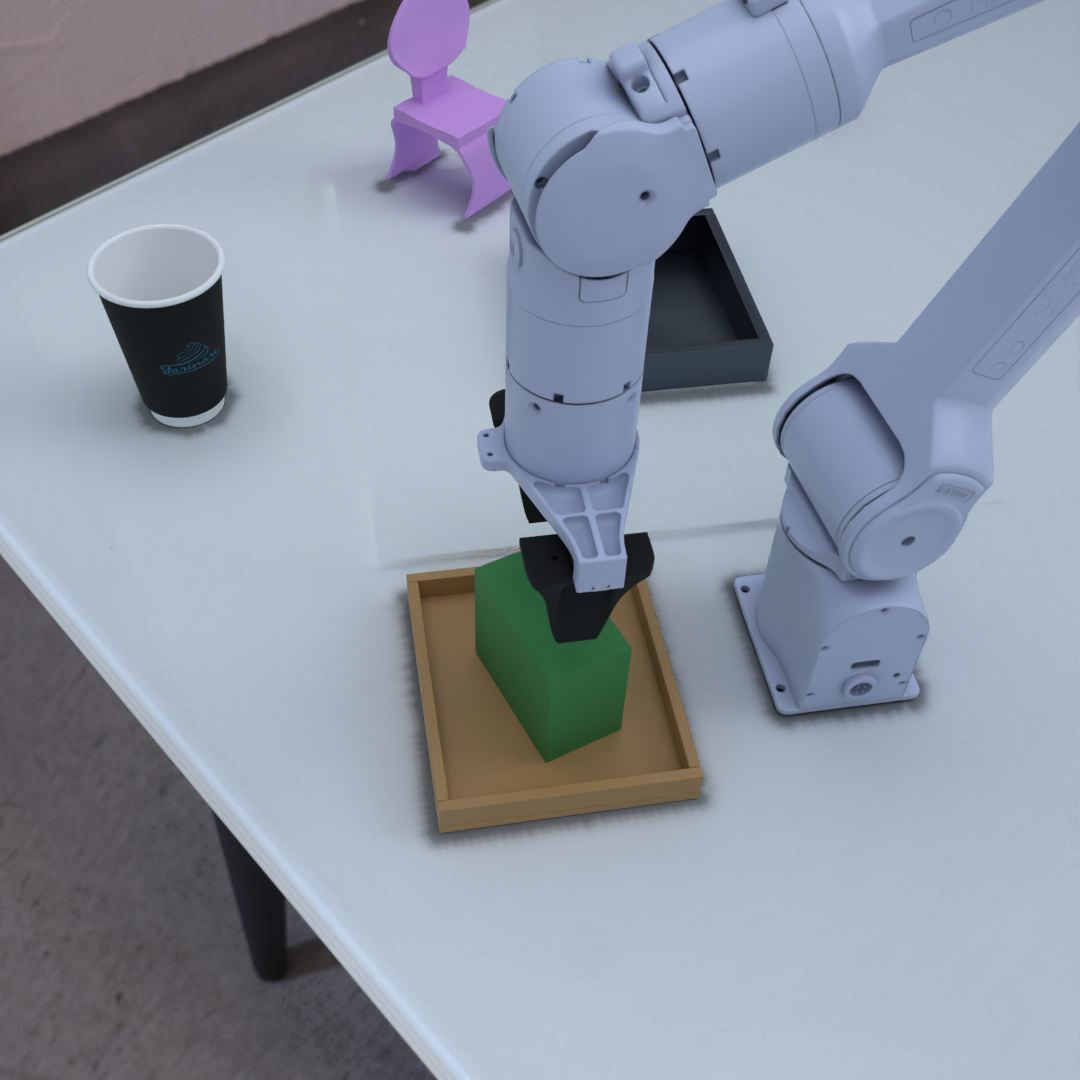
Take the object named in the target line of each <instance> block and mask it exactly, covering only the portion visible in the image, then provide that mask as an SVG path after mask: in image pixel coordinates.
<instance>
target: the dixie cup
mask: <svg viewBox="0 0 1080 1080" xmlns="http://www.w3.org/2000/svg"><path fill="white" fill-rule="evenodd" d="M225 266H226V255H225V252H224V249H223V248H222V246H221V244H220V242H219V241H218V240H217V239H216V238H214V237H213V236H212V235H211V234H209V233H207V232H205V231H203V230H201V229H198V228H195V227H193V226H189V225H184V224H179V223H178V224H176V223H157V224H156V223H154V224H153V223H152V224H146V225H141V226H137V227H133V228H129V229H128V230H124V231H122V232H121V231H120V232H119V233H117V234H115V235H113V236H112V237H109V238H108V239H107V240H105V241H104V242H102V244H100V245H99V246H98V247H97V248H96V249H95V250H94V251H93V253H92V254H91V256H90V257H89V259H88V262H87V266H86V278H87V281H88V283H89V285H90V287H91V288H92V289H93V291H94V292H95V293H96V294H98V296H99V299H100V301H101V303H102V306H103V309H104V311H105V313H106V316H107V318H108V321H109V323H110V325H111V328H112V330H113V332H114V335H115V338H116V340H117V342H118V345H119V348H120V349H121V352H122V354H123V357H124V360H125V362H126V365H127V366H128V368H129V371H130V374H131V376H132V379H133V381H134V383H135V385H136V388H137V391H138V392H139V395H140V398H141V400H142V402H143V403H144V406H146V408H148V410H149V411H150V413H151V414H152V416H153V417H154V419H156V420H157V422H159V423H160V424H163V425H166V426H170V427H175V428H191V427H195V426H199V425H202V424H205V423H207V422H208V421H209V422H210V420H212V419H214V418H215V417H216V416H217V415H218V414H219V413H221V411H222V409H223V408H224V405H225V400H226V399H225V398H226V397H225V396H226V394H227V391H228V373H227V372H228V369H227V351H226V350H227V349H226V332H225V329H226V328H225V313H224V295H223V293H224V292H223V272H224V270H225Z"/></svg>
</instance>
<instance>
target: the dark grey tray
mask: <svg viewBox="0 0 1080 1080" xmlns="http://www.w3.org/2000/svg"><path fill="white" fill-rule="evenodd" d="M774 346H775V344H774V342H773V340H772V338H771V335H770V333H769V330H768V329H767V326H766V324H765V322H764V320H763V317H762V315H761V313H760V311H759V309H758V306H757V304H756V302H755V299H754V297H753V295H752V292H751V291H750V288H749V286H748V284H747V281H746V279H745V277H744V275H743V272H742V270H741V268H740V265H739V264H738V262H737V259H736V257H735V254H734V253H733V250H732V248H731V246H730V243H729V241H728V239H727V237H726V235H725V233H724V230H723V228H722V226H721V223H720V222H719V219H718V217H717V214H716V213H715V211H714V208H713V207H705V208H703V209H701V210H700V211H698V212H697V213H695V214H694V215H693V216H692V217H691V218H690V219H689V221H688V222H687V224H686V225H685V227H684V229H683V231H682V232H681V234H680V235H679V237H678V238H677V239H676V241H675V242H674V243H673V244H672V245H671V246H670V247H669V248H668V250H666V251H665V252H664V253H663V254H662V255H661V256H660V257H659V258H657V259H656V260H655V267H654V283H653V290H652V299H651V307H650V316H649V325H648V333H647V342H646V351H645V359H644V371H643V379H642V388H641V393H644V392H656V391H666V390H677V389H688V388H698V387H699V388H700V387H709V386H710V387H711V386H720V385H731V384H739V383H740V384H742V383H755V382H763V381H767V379H768V375H769V370H770V365H771V359H772V355H773V350H774Z"/></svg>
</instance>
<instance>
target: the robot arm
mask: <svg viewBox="0 0 1080 1080" xmlns="http://www.w3.org/2000/svg"><path fill="white" fill-rule="evenodd" d="M1045 1H1046V0H721V1H719V2H716V3H715V4H713V5H711V6H709V7H707V8H705V9H703V10H701V11H699V12H697V13H695V14H694V15H692V16H689V17H688V18H686V19H684V20H682V21H679V22H678V23H676V24H674V25H673V26H669V27H668V28H666V29H665V30H662V31H660V32H659V33H656V34H654V35H653V36H651V37H649V38H647V39H646V40H644V41H641V42H640V43H638V44H636V42H635V41H633V40H632V41H630V42H628V43H626V44H624V45H622V46H620V47H618V48H616V49H614V50H613V51H611V52H610V54H609V57H608V58H609V59H608V60H607V61H605V60H603V59H598V58H593V57H587V59H586V60H581V59H579V58H578V57H569V58H565V59H561V60H557V61H554V62H551V63H549V64H547V65H544V66H542V67H540V68H538V69H536V70H535V71H534V72H532V73H531V74H529V75H528V76H527V77H526V78H524V79H523V80H522V81H521V82H520V83H519V84H517V86H516V87H515V89H513V93H512V94H511V96H510V98H509V99H508V98H506V99H505V100H506V102H505V104H504V106H503V108H502V110H501V112H500V115H499V118H498V121H497V125H495V126H491V127H489V128H488V130H487V140H488V146H489V150H490V153H491V155H492V158H493V160H494V162H495V164H496V166H497V168H498V170H499V171H500V173H501V174H502V176H503V177H504V178H505V179H506V180H507V181H508V182H509V185H510V187H511V191H512V192H513V195H514V196H513V197H512V198H511V199H510V201H509V202H510V203H509V237H508V238H509V244H508V245H509V246H508V248H509V250H508V256H507V260H506V284H505V285H506V286H505V287H506V290H505V291H506V292H505V293H506V294H505V297H506V298H505V374H504V375H505V377H504V380H505V381H504V382H505V383H504V385H505V386H504V388H502V389H500V390H497V391H495V392H494V393H493V394H492V395H491V396H490V397H489V400H488V407H489V413H490V417H491V421H492V426H493V427H491V428H485V429H482V430H480V431H479V432H478V433H477V437H476V439H477V440H476V447H477V452H478V458H479V463H480V465H481V467H482V469H484V470H485V471H488V472H506V473H508V474H510V475H511V477H512V478H513V479H514V481H515V482H516V483H517V484H518V489H519V494H520V498H521V503H522V507H523V511H524V514H525V517H526V520H527V522H528V524H538V523H548V524H549V526H550V527H551V528H552V529H553V531H554V532H555V533H552V534H543V535H533V536H524V537H520V538H518V546H519V551H521V555H522V560H523V565H524V569H525V573H526V575H527V578H528V580H529V582H530V584H531V586H532V587H533V589H535V590H536V591H537V592H539V593H540V595H541V596H542V597H543V599H544V601H545V603H546V609H547V614H548V619H549V623H550V628H551V631H552V634H553V637H554V639H555V641H556V642H557V643H567V642H576V641H584V640H592V639H596V638H597V637H598V636H599V634H600V633H601V631H602V629H603V628H604V626H605V624H606V622H607V620H608V618H609V616H610V615H611V613H612V611H613V609H614V607H615V606H616V604H617V603H618V601H619V600H620V599H621V597H622V596H623V595H624V594H625V593H626V592H627V591H629V590H630V589H631V588H632V587H634V586H635V585H636V584H638V583H639V582H641V581H643V580H644V579H646V580H647V579H648V578H649V577H650V576H651V575H652V572H653V570H654V567H655V559H656V557H655V552H654V549H653V545H652V542H651V538H650V536H649V532H648V531H642V532H632V533H625V529H626V524H627V519H628V513H629V507H630V502H631V497H632V492H633V487H634V482H635V476H636V471H637V465H638V459H639V452H640V443H641V441H640V433H639V430H638V423H639V422H638V421H639V413H640V405H641V396H642V392H641V388H642V379H643V371H644V359H645V351H646V342H647V333H648V325H649V316H650V307H651V299H652V290H653V283H654V267H655V260H656V259H657V258H659V257H660V256H661V255H662V254H663V253H664V252H665V251H666V250H668V248H669V247H670V246H671V245H672V244H673V243H674V242H675V241H676V239H677V238H678V237H679V235H680V234H681V232H682V231H683V229H684V227H685V225H686V224H687V222H688V221H689V219H690V218H691V217H692V216H693V215H694V214H695V213H697V212H698V211H700V210H701V209H704V208H708V207H709V206H710V200H711V199H713V198H716V196H717V195H718V189H720V188H722V187H724V186H726V185H727V184H730V183H732V182H733V181H736V180H738V179H740V178H742V177H744V176H745V175H748V174H749V173H752V172H753V171H755V170H757V169H760V168H761V167H764V166H765V165H767V164H769V163H771V162H774V161H776V160H778V159H780V158H782V157H784V156H785V155H788V154H789V153H792V152H794V151H795V150H798V149H800V148H801V147H803V146H805V145H807V144H809V143H812V142H813V141H816V140H817V139H820V138H821V137H823V136H826V135H827V134H830V133H831V132H833V131H835V130H837V129H840V128H841V127H844V126H845V125H848V124H849V123H852V122H853V121H856V120H857V119H858V118H859V117H860V116H861V114H862V112H863V110H864V109H865V107H866V105H867V104H868V103H867V102H868V101H869V98H870V96H871V93H872V91H873V90H874V89H873V88H874V87H875V84H876V82H877V79H878V78H879V76H880V74H881V72H882V71H883V70H884V69H885V68H888V67H890V66H893V65H896V64H897V63H900V62H902V61H905V60H907V59H909V58H913V57H914V56H916V55H919V54H921V53H923V52H924V53H925V52H926V51H929V50H931V49H933V48H936V47H938V46H941V45H942V44H945V43H949V42H950V41H953V40H954V39H957V38H960V37H962V36H964V35H966V34H969V33H972V32H975V31H976V30H978V29H980V28H984V27H985V26H988V25H990V24H993V23H995V22H998V21H1000V20H1002V19H1004V18H1008V17H1009V16H1012V15H1014V14H1017V13H1019V12H1021V11H1023V10H1026V9H1028V8H1031V7H1033V6H1035V5H1039V4H1041V3H1043V2H1045ZM1078 317H1080V121H1079V122H1078V123H1077V124H1076V125H1075V127H1074V128H1073V129H1072V131H1071V132H1070V133H1069V134H1068V135H1067V136H1066V137H1065V139H1064V140H1063V141H1062V142H1061V144H1060V145H1059V146H1058V147H1057V149H1056V150H1054V152H1053V153H1052V154H1051V155H1050V157H1049V158H1048V159H1047V160H1046V162H1045V163H1044V164H1043V165H1042V166H1041V168H1040V169H1039V170H1038V171H1037V172H1036V174H1035V175H1034V176H1033V177H1032V178H1031V180H1030V181H1029V182H1028V183H1027V185H1026V186H1024V188H1023V189H1022V190H1021V192H1020V193H1019V194H1018V195H1017V197H1016V198H1015V199H1014V200H1013V202H1011V204H1010V205H1009V206H1008V208H1006V210H1005V211H1004V212H1003V213H1002V215H1001V216H1000V217H999V218H998V220H996V222H995V223H994V224H993V226H992V227H991V228H990V229H989V231H988V232H986V234H985V235H984V236H983V238H982V239H981V240H980V241H979V243H978V244H977V245H976V246H975V248H973V250H972V251H971V252H970V253H969V255H968V256H967V257H966V258H965V260H964V261H963V262H962V263H961V265H960V266H958V268H957V269H956V270H955V271H954V272H953V274H952V275H951V276H950V277H949V279H947V281H946V282H945V284H944V285H943V286H942V287H941V288H940V290H938V292H937V293H936V294H935V295H934V297H933V298H932V299H931V300H930V302H929V303H928V304H927V305H926V306H925V308H924V309H923V310H922V311H921V312H920V314H919V315H918V316H917V317H916V319H914V321H913V322H912V323H911V324H910V326H909V327H908V328H907V329H906V330H905V332H904V333H903V334H902V335H901V336H900V338H899V339H898V340H897V341H893V342H892V341H875V340H873V341H872V340H868V341H867V340H866V341H853V342H850V343H848V344H847V345H846V346H845V347H844V348H843V350H842V351H841V353H839V355H838V356H837V357H836V358H835V359H834V361H833V362H832V363H831V364H830V365H828V367H826V368H825V369H824V370H822V371H821V372H820V373H818V374H817V375H816V376H814V377H812V378H811V379H809V380H807V381H806V382H805V383H803V384H801V385H800V386H799V387H797V388H796V389H795V390H794V391H793V392H792V393H791V394H790V395H789V396H788V397H787V398H786V400H785V401H784V402H783V404H782V405H781V406H780V408H779V410H777V413H776V415H775V417H774V418H775V419H774V420H773V424H772V439H773V444H774V446H775V447H776V450H777V451H778V452H779V454H780V455H781V456H782V457H784V459H786V460H787V462H788V463H787V465H786V470H785V473H784V479H783V480H784V482H785V485H786V489H785V491H784V493H783V494H784V495H783V499H782V503H781V507H780V509H779V514H778V519H777V523H776V526H775V531H774V535H773V539H772V544H771V548H770V550H769V551H770V552H769V554H768V555H769V556H768V559H767V564H766V568H765V572H764V573H761V574H760V573H759V574H749V575H741V576H737V577H736V578H735V579H734V580H733V584H732V586H733V589H734V592H735V595H736V599H737V601H738V604H739V608H740V610H741V613H742V615H743V618H744V622H745V624H746V628H747V630H748V633H749V635H750V638H751V641H752V643H753V647H754V649H755V652H756V654H757V655H756V656H757V658H758V661H759V664H760V666H761V669H762V673H763V675H764V678H765V681H766V684H767V686H768V689H769V692H770V695H771V698H772V702H773V704H774V706H775V710H776V711H777V712H778V713H779V714H781V715H783V716H784V715H785V716H789V715H798V714H804V713H812V712H813V713H814V712H819V711H820V712H821V711H828V710H837V709H843V708H850V707H851V708H852V707H859V706H868V705H874V704H875V705H876V704H882V703H883V704H884V703H890V702H898V701H899V702H900V701H906V700H907V701H908V700H914V699H916V698H917V697H918V696H919V694H920V690H921V688H920V686H919V683H918V682H917V679H916V677H915V674H914V671H915V669H916V666H917V664H918V660H919V658H920V656H921V654H922V651H923V649H924V646H925V644H926V642H927V640H928V636H929V633H930V627H931V625H930V620H929V616H928V614H927V610H926V609H925V606H924V603H923V600H922V598H921V595H920V590H919V584H918V578H917V574H918V573H917V572H920V571H922V570H924V569H926V568H927V567H929V566H930V565H933V564H934V563H935V562H936V561H938V560H939V559H940V558H941V557H942V556H943V555H945V554H946V553H947V552H948V551H949V549H950V548H951V547H952V545H953V544H954V543H955V541H956V540H957V538H958V537H959V535H960V534H961V532H962V530H963V528H964V526H965V523H966V521H967V519H968V517H969V515H970V513H971V510H972V509H973V508H974V506H975V504H976V503H977V502H978V501H979V500H980V498H981V497H982V496H983V495H984V494H985V493H986V492H987V491H988V490H989V489H990V488H991V487H992V486H993V484H994V480H995V479H994V478H995V467H994V466H995V464H994V443H993V410H994V409H995V408H996V407H997V406H998V405H999V403H1000V402H1001V401H1003V399H1005V398H1006V396H1007V395H1008V394H1009V392H1010V391H1011V390H1013V388H1014V387H1015V386H1016V385H1017V384H1018V383H1019V382H1020V381H1021V380H1022V378H1023V377H1024V376H1025V375H1026V374H1027V373H1028V372H1029V371H1030V370H1031V369H1032V367H1033V366H1034V365H1035V364H1036V363H1037V362H1038V361H1039V360H1040V359H1041V358H1042V357H1043V356H1044V355H1045V354H1046V352H1047V351H1048V350H1049V349H1050V348H1051V347H1052V346H1053V345H1054V344H1055V342H1056V341H1057V340H1058V339H1060V338H1061V336H1062V335H1063V334H1064V333H1065V331H1067V329H1068V328H1070V326H1071V325H1072V324H1073V323H1074V322H1075V321H1076V320H1077V319H1078ZM745 591H746V592H745ZM778 689H779V690H782V691H778Z"/></svg>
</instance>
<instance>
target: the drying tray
mask: <svg viewBox="0 0 1080 1080" xmlns="http://www.w3.org/2000/svg"><path fill="white" fill-rule="evenodd" d="M477 567H478V566H469V567H463V568H451V569H443V570H434V571H433V570H432V571H424V572H415V573H406V574H405V577H406V579H405V580H406V592H407V602H408V609H409V611H408V612H409V617H410V625H411V633H412V639H413V645H414V646H413V647H414V654H415V663H416V669H417V676H418V677H417V678H418V685H419V691H420V692H419V693H420V699H421V706H422V714H423V722H424V728H425V736H426V744H427V751H428V758H429V765H430V766H429V767H430V774H431V775H430V776H431V781H432V790H433V797H434V805H435V812H436V818H437V819H436V820H437V826H438V832H439V834H445V833H451V832H459V831H465V830H474V829H480V828H488V827H495V826H496V827H497V826H503V825H510V824H517V823H523V822H525V823H526V822H532V821H538V820H547V819H553V818H561V817H570V816H576V815H585V814H591V813H599V812H607V811H612V810H613V811H615V810H621V809H628V808H635V807H642V806H650V805H657V804H664V803H665V804H666V803H672V802H679V801H688V800H694V799H695V800H696V799H698V798H699V797H700V792H701V789H702V785H703V780H704V772H703V770H702V767H701V762H700V759H699V757H698V752H697V749H696V745H695V742H694V738H693V735H692V733H691V732H692V731H691V729H690V728H691V727H690V726H689V722H688V718H687V716H686V711H685V708H684V705H683V702H682V697H681V694H680V692H679V688H678V685H677V681H676V678H675V675H674V671H673V667H672V664H671V661H670V657H669V653H668V651H667V647H666V644H665V641H664V637H663V633H662V630H661V627H660V622H659V619H658V616H657V613H656V609H655V606H654V603H653V600H652V599H653V598H652V595H651V593H650V589H649V585H648V583H647V578H646V579H644V580H643V581H641V582H639V583H638V584H636V585H635V586H634V587H632V588H631V589H630V590H629V591H627V592H626V593H625V594H624V595H623V596H622V597H621V599H620V600H619V601H618V603H617V604H616V606H615V607H614V609H613V611H612V613H611V615H610V616H609V617H610V618H611V620H612V621H613V623H614V624H615V625H616V627H617V628H618V629H619V631H620V632H621V634H622V635H623V636H624V638H625V639H626V640H627V642H628V643H629V645H630V646H631V647H632V652H631V659H630V667H629V674H628V681H627V688H626V696H625V703H624V710H623V718H622V725H621V729H620V730H618V731H616V732H614V733H612V734H609V735H607V736H605V737H603V738H601V739H598V740H596V741H594V742H592V743H589V744H587V745H585V746H583V747H581V748H578V749H576V750H574V751H572V752H569V753H567V754H565V755H563V756H560V757H558V758H556V759H554V760H552V761H549V762H547V763H545V761H544V760H543V758H542V757H541V755H540V753H539V752H538V750H537V749H536V747H535V745H534V744H533V742H532V741H531V739H530V738H529V736H528V734H527V733H526V731H525V730H524V728H523V726H522V725H521V723H520V722H519V720H518V718H517V717H516V715H515V714H514V712H513V711H512V709H511V707H510V706H509V704H508V703H507V701H506V699H505V698H504V696H503V695H502V693H501V692H500V690H499V688H498V687H497V685H496V684H495V682H494V680H493V679H492V677H491V676H490V674H489V673H488V671H487V669H486V668H485V666H484V665H483V663H482V661H481V660H480V658H479V657H478V655H477V654H476V650H475V568H477Z"/></svg>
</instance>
